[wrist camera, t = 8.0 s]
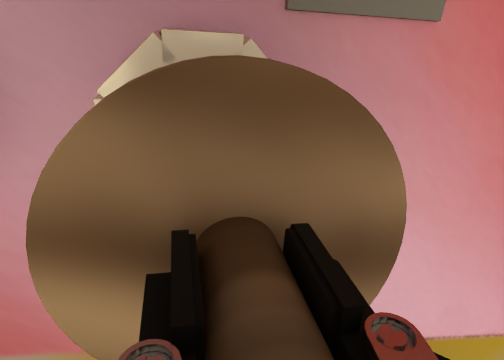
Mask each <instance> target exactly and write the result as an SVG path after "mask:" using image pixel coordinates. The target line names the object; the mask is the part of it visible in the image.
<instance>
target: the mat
mask: <svg viewBox="0 0 504 360" xmlns="http://www.w3.org/2000/svg"><path fill="white" fill-rule="evenodd" d="M445 1H446V0H286V6H285V9H289V10H301V11H314V12H326V13H339V14H352V15H364V16H377V17H390V18H402V19H415V20H427V21H441V17H442V13H443V9H444V5H445Z"/></svg>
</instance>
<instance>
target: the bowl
mask: <svg viewBox="0 0 504 360" xmlns="http://www.w3.org/2000/svg"><path fill="white" fill-rule="evenodd" d="M161 34H162V36H161V35H160V34H159V33H158V32H157V31H156V32H153V33H152V34H151V35H150V36H149V37H148V38H147V39H146V40H145V41H144V42H143V43H142V44H141V45H140V46H139V47H138V48H137V49H136V50H135V51H134V52H133V53H132V55H131V56H130V57H129V58H128V59H127V60H126V61H125V62H124V63H123V64H122V65H121V66H120V67H119V68H118V69H117V70H116V71H115V72H114V73H113V74H112V75H111V76H110V77H109V78H108V79H107V80H106V81H105V82H104V83H103V85H102V86H101V87H100V88H99V89H98V90H97V92H98V93H99V95H97V96H96V97H95V98H94V106H95V105H96V104H97V103H99V102H100V101H101V100H102V99H103V98H104V97H106V96H107V95H109V94H110V93H112V92H113V91H115V90H116V89H118V88H119V87H121V86H122V85H124V84H125V83H127V82H128V81H130V80H133V79H135V78H137V77H139V76H141V75H143V74H145V73H148V72H150V71H152V70H154V69H157V68H160V67H163V66H166V65H170V64H173V63H176V62H179V61H183V60H188V59H195V58H201V57H207V56H226V55H242V56H250V57H259V58H267V57H266V56H265V55H264V53H263V52H262V51H261V50H260V48H259V47H258V46H257V45H256V44H255V42H254V41H253V40H252V39H251V38H247V37H244V34H237V33H228V32H212V31H196V30H180V29H161ZM267 59H268V58H267Z"/></svg>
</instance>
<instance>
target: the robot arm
mask: <svg viewBox="0 0 504 360" xmlns="http://www.w3.org/2000/svg"><path fill="white" fill-rule="evenodd" d="M283 254H284V256H285V258H286V261H287V263H288V265H289V267H290V269H291V271H292V273H293V275H294V277H295V279H296V281H297V283H298V286H299V288H300V290H301V292H302V294H303V296H304V298H305V300H306V302H307V304H308V306H309V308H310V310H311V313H312V315H313V317H314V319H315V321H316V323H317V325H318V327H319V329H320V331H321V333H322V335H323V337H324V340H325V342H326V344H327V346H328V348H329V350H330V352H331V354H332V356H333V358H334V360H450V359H448V358H445V357H443V356H441V355H438V354H436V353H434V352H433V351H432V349H431V348H430V346H429V345H428V343H427V342H426V341H425V339H424V338H423V336H422V335H421V333H420V332H419V331H418V329H417V328H416V327H415V326H414V325H413V324H411V323H410V322H409V321H407V320H406V319H404V318H402V317H400V316H398V315H394V314H391V313H383V312H380V313H374V311H373V310H372V309H371V307H370V306H369V304H368V303H367V301H366V300H365V299H364V297H363V296H362V294H361V293H360V291H359V290H358V289H357V287H356V286H355V284H354V283H353V281H352V280H351V279H350V277H349V276H348V274H347V273H346V271H345V270H344V269H343V267H342V266H341V264H340V263H339V262H338V261H337V260H335V259H333V258H332V257H331V255H330V254H329V252H328V251H327V249H326V248H325V246H324V245H323V243H322V242H321V240H320V239H319V238H318V236H317V235H316V233H315V232H314V230H313V229H312V227H311V226H310V224H309V223H297V224H291V226H290V228H286V230H285V235H284V244H283ZM118 360H205V320H204V309H203V300H202V290H201V281H200V272H199V262H198V253H197V243H196V234H189V230H171V272H166V273H153V274H146V280H145V289H144V298H143V307H142V316H141V325H140V334H139V342H138V343H136V344H134V345H132V346H131V347H129V348H128V349H127V350H126V351H125V352H124V353H122V354H121V356H120V357H119V359H118Z"/></svg>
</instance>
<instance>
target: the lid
mask: <svg viewBox="0 0 504 360" xmlns="http://www.w3.org/2000/svg"><path fill="white" fill-rule="evenodd" d="M406 207H407V202H406V190H405V182H404V178H403V173H402V169H401V165H400V162H399V160H398V157H397V155H396V152H395V150H394V147H393V145H392V143H391V142H390V140H389V138H388V137H387V135H386V133H385V132H384V130H383V128H382V126H381V125H380V124H379V123H378V122H377V120H376V119H375V118H374V117H373V116H372V115H371V113H370V112H369V111H368V110H367V109H366V108H365V107H364V106H363V105H362V104H361V103H359V102H358V101H357V100H356V99H355V98H354V97H353V96H351V95H350V94H349V93H348V92H346V91H345V90H343V89H341V88H340V87H338V86H337V85H335V84H333V83H332V82H330V81H329V80H327V79H325V78H323V77H320V76H318V75H316V74H313V73H311V72H309V71H306V70H304V69H302V68H299V67H296V66H293V65H289V64H285V63H282V62H278V61H274V60H270V59H267V58H259V57H250V56H242V55H226V56H207V57H201V58H195V59H188V60H183V61H179V62H176V63H173V64H170V65H166V66H163V67H160V68H157V69H154V70H152V71H150V72H148V73H145V74H143V75H141V76H139V77H137V78H135V79H133V80H130V81H128V82H127V83H125V84H124V85H122V86H121V87H119V88H118V89H116V90H115V91H113V92H112V93H110V94H109V95H107V96H106V97H104V98H103V99H102V100H101V101H100V102H99V103H97V104H96V105H95V106H94V107H93V108H92V109H91V110H90V111H88V112H87V113H86V114H85V115H84V116H83V117H82V118H81V119H80V120H79V121H78V122H77V123H76V124H75V125H74V126H73V127H72V129H71V130H70V131H69V132H68V133H67V135H66V136H65V137H64V138H63V139H62V141H61V142H60V143H59V144H58V145H57V147H56V148H55V150H54V152H53V153H52V155H51V157H50V158H49V160H48V162H47V163H46V165H45V167H44V168H43V170H42V172H41V175H40V177H39V180H38V182H37V185H36V187H35V190H34V192H33V195H32V199H31V203H30V208H29V213H28V218H27V230H26V250H27V257H28V264H29V270H30V273H31V276H32V279H33V282H34V285H35V289H36V291H37V293H38V295H39V297H40V299H41V301H42V303H43V305H44V307H45V309H46V311H47V312H48V313H49V315H50V316H51V317H52V319H53V320H54V321H55V323H56V324H57V326H58V327H59V328H60V329H61V330H62V331H63V332H64V333H65V334H66V335H67V336H68V337H69V338H70V339H71V340H72V341H73V342H74V343H75V344H76V345H78V346H79V347H80V348H82V349H83V350H84V351H85V352H87V353H88V354H89V355H91V356H92V357H94V358H96V359H98V360H118V359H119V357H120V356H121V354H122V353H124V352H125V351H126V350H127V349H128V348H129V347H131V346H132V345H134V344H136V343H138V342H139V334H140V325H141V316H142V307H143V298H144V289H145V280H146V274H153V273H166V272H171V230H189V234H196V243H197V253H198V262H199V272H200V281H201V290H202V300H203V309H204V320H205V360H334V358H333V356H332V354H331V352H330V350H329V348H328V346H327V344H326V342H325V340H324V337H323V335H322V333H321V331H320V329H319V327H318V325H317V323H316V321H315V319H314V317H313V315H312V313H311V310H310V308H309V306H308V304H307V302H306V300H305V298H304V296H303V294H302V292H301V290H300V288H299V286H298V283H297V281H296V279H295V277H294V275H293V273H292V271H291V269H290V267H289V265H288V263H287V261H286V258H285V256H284V254H283V244H284V235H285V230H286V228H290V226H291V224H297V223H309V224H310V226H311V227H312V229H313V230H314V232H315V233H316V235H317V236H318V238H319V239H320V240H321V242H322V243H323V245H324V246H325V248H326V249H327V251H328V252H329V254H330V255H331V257H332V258H333V259H335V260H337V261H338V262H339V263H340V264H341V266H342V267H343V269H344V270H345V271H346V273H347V274H348V276H349V277H350V279H351V280H352V281H353V283H354V284H355V286H356V287H357V289H358V290H359V291H360V293H361V294H362V296H363V297H364V299H365V300H366V301H367V303H368V304H369V305H370V304H371V303H372V301H373V300H374V299H375V297H376V296H377V295H378V293H379V292H380V290H381V288H382V287H383V285H384V283H385V282H386V280H387V278H388V276H389V274H390V272H391V270H392V268H393V266H394V264H395V261H396V259H397V256H398V253H399V250H400V246H401V243H402V239H403V234H404V229H405V223H406Z"/></svg>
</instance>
